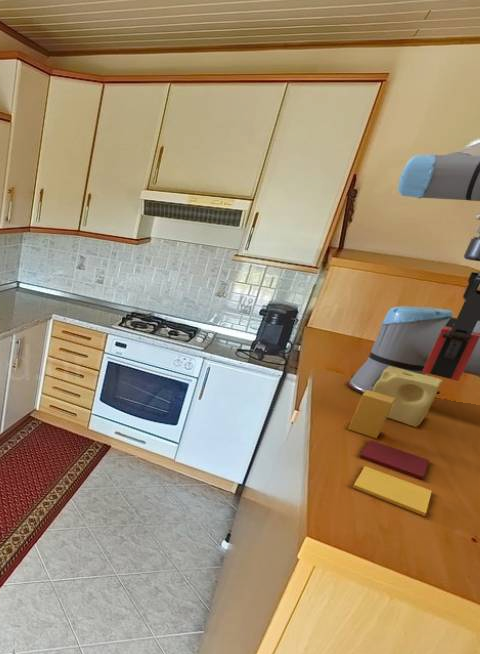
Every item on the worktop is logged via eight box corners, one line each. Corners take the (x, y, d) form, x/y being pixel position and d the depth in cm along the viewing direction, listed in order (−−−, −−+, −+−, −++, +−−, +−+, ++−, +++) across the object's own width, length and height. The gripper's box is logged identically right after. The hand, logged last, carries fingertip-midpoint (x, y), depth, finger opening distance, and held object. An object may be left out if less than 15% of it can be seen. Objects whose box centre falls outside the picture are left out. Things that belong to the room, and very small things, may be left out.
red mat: (368, 442, 97) (369, 439, 97) (427, 462, 91) (429, 459, 91) (359, 457, 90) (360, 454, 90) (422, 479, 84) (423, 477, 84)
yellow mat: (363, 468, 86) (365, 465, 86) (430, 493, 80) (432, 490, 80) (352, 487, 79) (354, 484, 79) (424, 516, 73) (426, 513, 73)
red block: (424, 367, 89) (443, 325, 87) (459, 376, 86) (480, 333, 84) (422, 372, 86) (441, 328, 84) (458, 381, 83) (480, 336, 80)
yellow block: (352, 423, 105) (366, 389, 103) (380, 432, 102) (395, 397, 99) (348, 429, 102) (362, 394, 99) (376, 438, 99) (392, 402, 96)
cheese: (362, 410, 113) (378, 370, 110) (372, 401, 120) (389, 363, 117) (419, 429, 106) (439, 387, 103) (427, 418, 113) (446, 378, 110)
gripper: (474, 236, 87) (418, 359, 95) (471, 233, 75) (408, 374, 83) (535, 242, 82) (471, 371, 90) (543, 240, 70) (468, 390, 78)
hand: (441, 372), depth 86 cm, fingers closed on red block, 5 cm apart
